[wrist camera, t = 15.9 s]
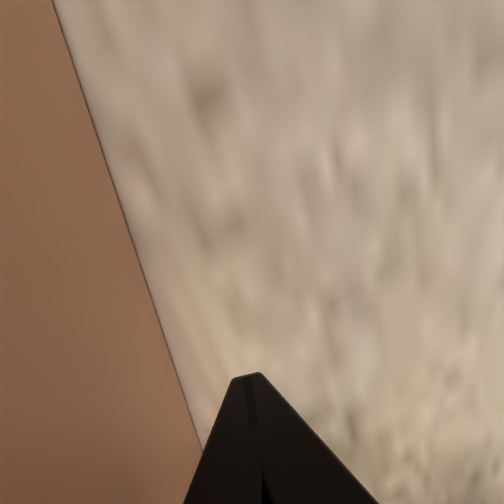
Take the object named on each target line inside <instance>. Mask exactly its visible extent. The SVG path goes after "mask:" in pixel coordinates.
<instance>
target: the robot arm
mask: <svg viewBox="0 0 504 504" xmlns="http://www.w3.org/2000/svg"><path fill="white" fill-rule="evenodd" d="M183 504H379V503H378V502H377V501H376V500H375V499H374V498H373V496H372V495H371V494H370V493H369V492H368V491H367V490H366V489H365V488H364V486H363V485H362V484H361V483H360V482H359V481H358V480H357V479H356V477H355V476H354V475H353V474H352V473H351V472H350V471H349V470H348V469H347V467H346V466H345V465H344V464H343V463H342V462H341V461H340V460H339V459H338V457H337V456H336V455H335V454H334V453H333V452H332V451H331V450H330V449H329V447H328V446H327V445H326V444H325V443H324V442H323V441H322V440H321V439H320V437H319V436H318V435H317V434H316V433H315V432H314V431H313V430H312V429H311V427H310V426H309V425H308V424H307V423H306V422H305V421H304V420H303V419H302V417H301V416H300V415H299V414H298V413H297V412H296V411H295V410H294V408H293V407H292V406H291V405H290V404H289V403H288V402H287V401H286V400H285V398H284V397H283V396H282V395H281V394H280V393H279V392H278V391H277V390H276V388H275V387H274V386H273V385H272V384H271V383H270V382H269V381H268V380H267V378H266V377H265V376H264V375H263V374H262V373H260V372H256V373H251V374H247V375H243V376H239V377H235V378H233V379H232V380H231V382H230V385H229V387H228V390H227V392H226V395H225V397H224V400H223V402H222V405H221V407H220V410H219V412H218V415H217V418H216V420H215V423H214V425H213V428H212V430H211V433H210V435H209V438H208V440H207V443H206V445H205V448H204V451H203V453H202V456H201V458H200V461H199V463H198V466H197V468H196V471H195V473H194V476H193V478H192V481H191V484H190V486H189V489H188V491H187V494H186V496H185V499H184V501H183Z"/></svg>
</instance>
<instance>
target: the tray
mask: <svg viewBox="0 0 504 504" xmlns="http://www.w3.org/2000/svg"><path fill="white" fill-rule="evenodd" d="M201 456H202V450H201V447H200V444H199V441H198V438H197V435H196V432H195V429H194V426H193V423H192V420H191V417H190V414H189V411H188V408H187V405H186V402H185V399H184V396H183V393H182V390H181V387H180V384H179V381H178V378H177V375H176V372H175V369H174V366H173V363H172V360H171V357H170V354H169V351H168V348H167V345H166V342H165V339H164V336H163V333H162V330H161V327H160V324H159V321H158V318H157V315H156V312H155V309H154V306H153V303H152V300H151V297H150V294H149V291H148V288H147V285H146V282H145V279H144V276H143V273H142V270H141V267H140V264H139V261H138V258H137V255H136V253H135V250H134V247H133V244H132V241H131V238H130V235H129V232H128V229H127V226H126V223H125V220H124V217H123V214H122V211H121V208H120V205H119V202H118V199H117V196H116V193H115V190H114V187H113V184H112V181H111V178H110V175H109V172H108V169H107V166H106V163H105V160H104V157H103V154H102V151H101V148H100V145H99V142H98V139H97V136H96V133H95V130H94V127H93V124H92V121H91V118H90V115H89V112H88V109H87V106H86V103H85V100H84V97H83V94H82V91H81V88H80V85H79V82H78V79H77V76H76V73H75V70H74V67H73V64H72V61H71V58H70V55H69V52H68V49H67V46H66V43H65V40H64V37H63V34H62V31H61V28H60V25H59V22H58V19H57V16H56V13H55V10H54V7H53V4H52V1H51V0H0V504H183V501H184V499H185V496H186V494H187V491H188V489H189V486H190V484H191V481H192V478H193V476H194V473H195V471H196V468H197V466H198V463H199V461H200V458H201Z"/></svg>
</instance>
